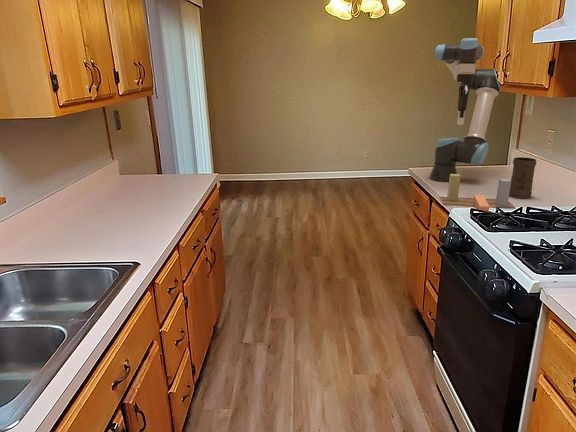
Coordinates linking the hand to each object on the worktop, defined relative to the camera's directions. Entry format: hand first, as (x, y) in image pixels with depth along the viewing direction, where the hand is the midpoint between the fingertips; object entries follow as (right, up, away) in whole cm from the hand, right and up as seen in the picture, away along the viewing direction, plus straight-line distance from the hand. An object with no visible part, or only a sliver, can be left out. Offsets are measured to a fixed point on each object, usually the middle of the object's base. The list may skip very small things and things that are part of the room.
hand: (460, 124), depth 222 cm
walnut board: (+3, -39, -10) cm, 41 cm away
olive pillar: (-6, -37, -6) cm, 38 cm away
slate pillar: (+13, -40, -16) cm, 45 cm away
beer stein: (+29, -36, +2) cm, 46 cm away
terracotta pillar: (+3, -37, -14) cm, 40 cm away
